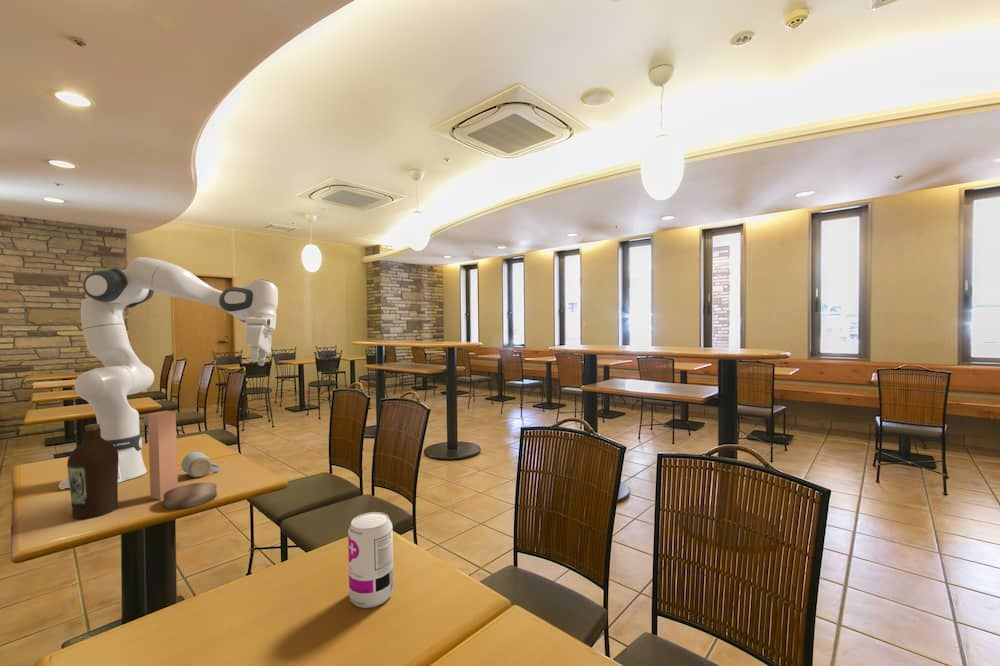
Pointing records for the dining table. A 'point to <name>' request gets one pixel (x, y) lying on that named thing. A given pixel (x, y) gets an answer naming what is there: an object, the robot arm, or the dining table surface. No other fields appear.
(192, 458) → the ceramic mug
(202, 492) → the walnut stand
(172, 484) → the terracotta post
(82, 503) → the olive oil
